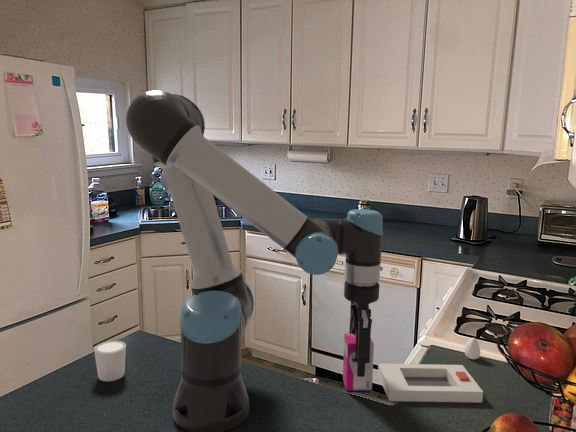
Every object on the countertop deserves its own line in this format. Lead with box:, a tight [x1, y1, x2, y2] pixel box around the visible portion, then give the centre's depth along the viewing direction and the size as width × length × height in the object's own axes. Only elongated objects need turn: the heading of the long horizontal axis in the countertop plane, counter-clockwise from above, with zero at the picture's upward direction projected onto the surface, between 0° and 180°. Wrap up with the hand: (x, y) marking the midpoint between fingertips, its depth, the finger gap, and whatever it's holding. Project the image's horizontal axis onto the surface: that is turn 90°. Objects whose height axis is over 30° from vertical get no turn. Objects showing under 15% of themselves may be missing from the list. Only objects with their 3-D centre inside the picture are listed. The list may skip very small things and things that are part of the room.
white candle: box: [93, 340, 127, 382], centre depth 109 cm, size 7×7×7 cm
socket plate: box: [377, 363, 484, 404], centre depth 107 cm, size 20×12×3 cm, turn 91°
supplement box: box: [342, 333, 375, 393], centre depth 106 cm, size 6×6×12 cm
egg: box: [463, 337, 481, 360], centre depth 122 cm, size 4×4×6 cm
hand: (356, 380), depth 107 cm, fingers closed on supplement box, 6 cm apart
